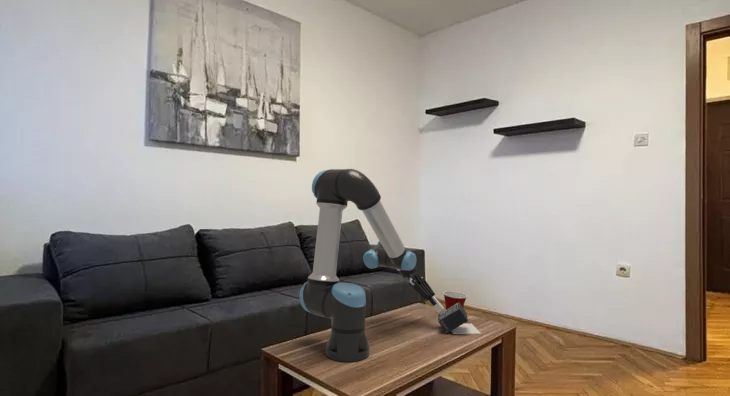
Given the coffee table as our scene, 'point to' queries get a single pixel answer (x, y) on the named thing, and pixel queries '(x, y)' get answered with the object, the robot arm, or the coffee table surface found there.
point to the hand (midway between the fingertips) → (441, 310)
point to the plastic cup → (454, 298)
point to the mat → (465, 329)
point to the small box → (452, 317)
